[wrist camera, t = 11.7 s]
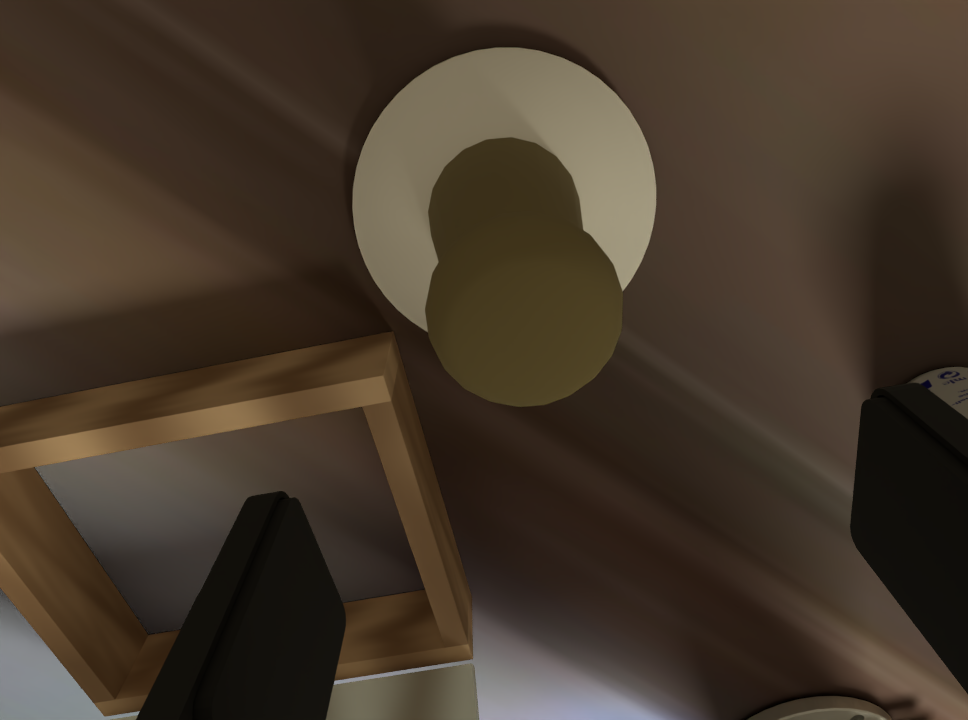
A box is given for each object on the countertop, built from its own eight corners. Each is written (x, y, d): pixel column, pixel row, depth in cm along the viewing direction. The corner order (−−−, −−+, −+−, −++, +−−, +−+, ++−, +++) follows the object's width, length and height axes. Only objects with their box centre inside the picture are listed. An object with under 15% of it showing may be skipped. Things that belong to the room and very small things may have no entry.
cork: (606, 240, 25) (694, 373, 16) (480, 313, 27) (488, 478, 17) (532, 104, 23) (583, 162, 13) (397, 192, 24) (351, 305, 14)
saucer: (639, 14, 22) (645, 13, 21) (659, 315, 28) (664, 323, 27) (315, 85, 23) (310, 87, 22) (398, 364, 29) (396, 373, 28)
